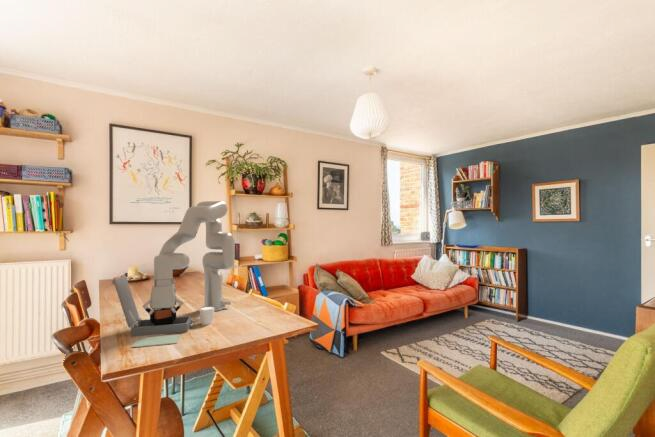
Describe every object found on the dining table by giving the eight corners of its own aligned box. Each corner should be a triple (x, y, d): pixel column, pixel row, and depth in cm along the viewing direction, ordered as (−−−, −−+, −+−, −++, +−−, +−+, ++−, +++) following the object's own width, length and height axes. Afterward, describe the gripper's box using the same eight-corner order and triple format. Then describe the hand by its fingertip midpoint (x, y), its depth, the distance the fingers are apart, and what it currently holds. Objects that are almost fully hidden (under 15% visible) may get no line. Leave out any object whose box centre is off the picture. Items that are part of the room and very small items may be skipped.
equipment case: (191, 323, 152) (191, 300, 152) (187, 331, 140) (187, 306, 140) (136, 327, 146) (136, 303, 146) (127, 336, 134) (128, 310, 134)
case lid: (125, 275, 145) (123, 275, 145) (115, 279, 133) (113, 280, 133) (139, 318, 146) (137, 319, 146) (131, 327, 134) (128, 327, 134)
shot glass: (217, 321, 155) (217, 307, 155) (207, 325, 148) (208, 310, 148) (205, 320, 157) (206, 305, 157) (196, 324, 151) (196, 309, 151)
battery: (173, 328, 144) (173, 306, 144) (156, 332, 139) (156, 309, 139) (169, 326, 147) (169, 304, 147) (153, 330, 142) (153, 307, 142)
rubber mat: (180, 335, 136) (180, 334, 136) (176, 343, 126) (176, 342, 126) (138, 338, 132) (138, 337, 132) (130, 347, 122) (130, 346, 122)
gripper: (185, 280, 149) (185, 317, 149) (144, 282, 145) (144, 321, 144) (182, 283, 142) (182, 322, 142) (139, 285, 137) (139, 326, 137)
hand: (163, 321), depth 143 cm, fingers closed on battery, 7 cm apart
